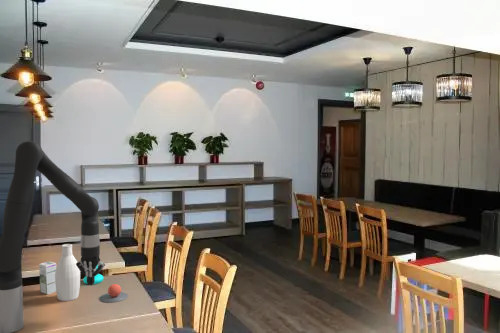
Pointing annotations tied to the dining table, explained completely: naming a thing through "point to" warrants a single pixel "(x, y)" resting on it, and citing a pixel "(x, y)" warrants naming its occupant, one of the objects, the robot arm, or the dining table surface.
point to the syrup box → (47, 277)
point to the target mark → (113, 298)
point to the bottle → (67, 275)
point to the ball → (114, 290)
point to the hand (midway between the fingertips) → (90, 284)
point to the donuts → (97, 278)
